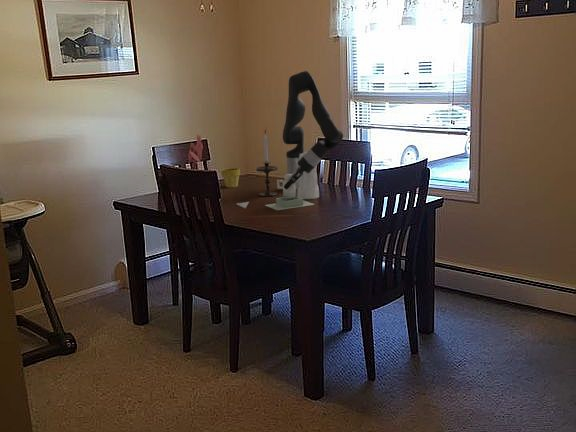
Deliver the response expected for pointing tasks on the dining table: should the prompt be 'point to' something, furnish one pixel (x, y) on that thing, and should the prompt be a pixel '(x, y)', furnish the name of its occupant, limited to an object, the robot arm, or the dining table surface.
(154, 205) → the dining table surface
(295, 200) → the tray
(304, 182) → the decorative vase
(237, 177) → the plant pot
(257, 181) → the dining table surface
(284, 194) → the cream jug
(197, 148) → the figurine
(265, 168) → the candlestick
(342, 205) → the dining table surface
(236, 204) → the grey mat
